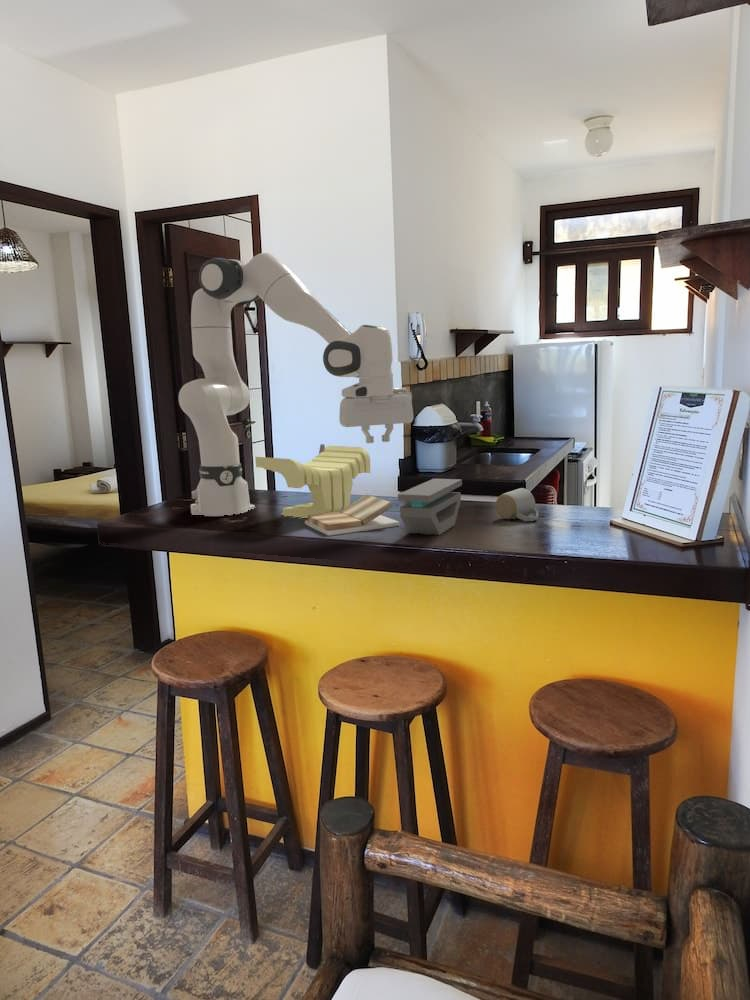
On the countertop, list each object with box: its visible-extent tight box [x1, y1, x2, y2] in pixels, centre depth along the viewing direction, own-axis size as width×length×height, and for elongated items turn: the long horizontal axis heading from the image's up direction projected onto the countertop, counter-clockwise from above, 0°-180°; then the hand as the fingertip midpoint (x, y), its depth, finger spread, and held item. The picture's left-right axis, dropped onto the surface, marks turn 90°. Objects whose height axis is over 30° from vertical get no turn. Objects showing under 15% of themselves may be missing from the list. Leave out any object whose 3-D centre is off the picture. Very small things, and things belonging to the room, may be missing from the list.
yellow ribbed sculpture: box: [254, 445, 371, 519], centre depth 200 cm, size 30×16×18 cm, turn 143°
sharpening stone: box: [397, 478, 463, 536], centre depth 178 cm, size 25×8×11 cm, turn 156°
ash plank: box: [340, 493, 393, 525], centre depth 187 cm, size 14×9×2 cm, turn 27°
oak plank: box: [307, 512, 361, 531], centre depth 184 cm, size 14×9×2 cm, turn 27°
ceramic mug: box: [495, 487, 539, 522], centre depth 186 cm, size 11×8×8 cm
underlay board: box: [304, 514, 401, 536], centre depth 186 cm, size 16×20×1 cm
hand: (377, 442), depth 186 cm, fingers open, 3 cm apart
